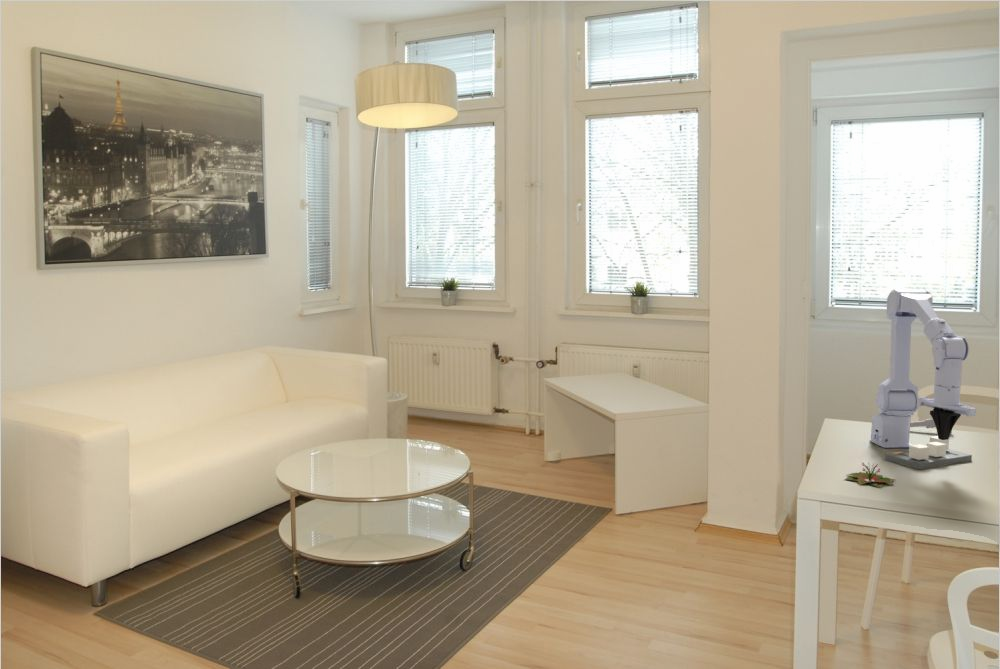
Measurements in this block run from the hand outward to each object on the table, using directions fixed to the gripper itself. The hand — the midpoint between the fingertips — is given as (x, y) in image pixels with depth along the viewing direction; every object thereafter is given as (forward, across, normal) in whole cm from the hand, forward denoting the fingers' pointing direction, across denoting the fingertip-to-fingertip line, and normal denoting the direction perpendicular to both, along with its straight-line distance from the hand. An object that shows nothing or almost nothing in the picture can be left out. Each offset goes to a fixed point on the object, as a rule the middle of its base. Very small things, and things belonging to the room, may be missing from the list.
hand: (943, 439), depth 208 cm
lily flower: (+9, +2, +23) cm, 24 cm away
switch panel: (+8, +8, -6) cm, 14 cm away
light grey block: (+6, +7, 0) cm, 9 cm away
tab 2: (+6, +7, -6) cm, 11 cm away
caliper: (+9, +32, -31) cm, 46 cm away
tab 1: (+6, +11, -13) cm, 18 cm away
